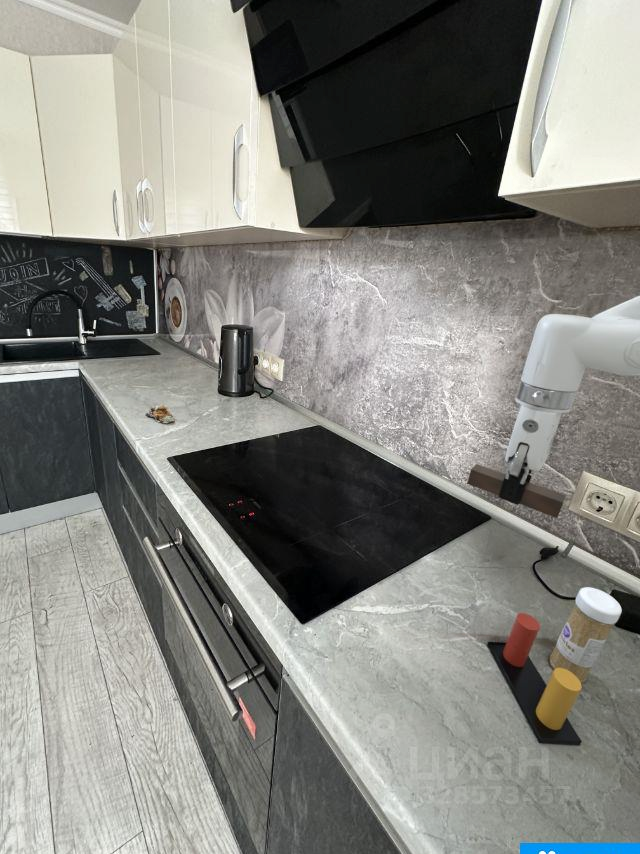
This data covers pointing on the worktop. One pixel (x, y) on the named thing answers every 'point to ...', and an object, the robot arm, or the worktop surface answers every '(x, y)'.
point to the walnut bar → (532, 495)
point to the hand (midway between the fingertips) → (512, 495)
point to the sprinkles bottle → (585, 632)
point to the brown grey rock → (160, 414)
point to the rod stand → (537, 685)
